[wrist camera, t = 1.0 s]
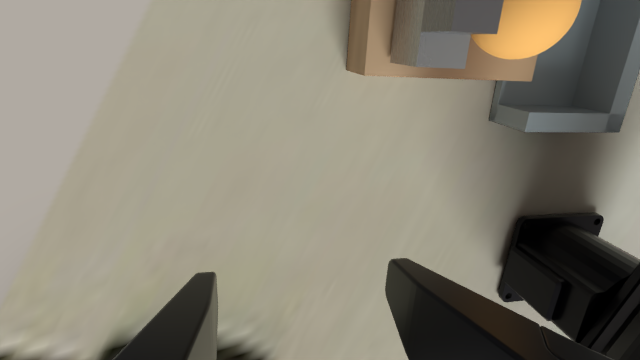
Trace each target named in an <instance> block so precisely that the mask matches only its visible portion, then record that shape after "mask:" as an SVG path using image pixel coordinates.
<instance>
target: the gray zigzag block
mask: <svg viewBox="0 0 640 360" xmlns="http://www.w3.org/2000/svg"><path fill="white" fill-rule="evenodd" d="M503 2H504V0H397V2H396V12H395V21H394V30H393V39H392V48H391V58H390V63H395V64H401V65H407V66H413V67H430V68H454V69H465V66H466V60H467V54H468V48H469V43H470V37H471V34H497V32H498V27H499V22H500V17H501V12H502V7H503Z"/></svg>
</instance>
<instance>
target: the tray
mask: <svg viewBox="0 0 640 360" xmlns="http://www.w3.org/2000/svg"><path fill="white" fill-rule="evenodd" d="M639 70H640V0H582V1H581V6H580V9H579V12H578V14H577V17H576V19H575V21H574V23H573V24H572V26H571V27H570V29H569V30H568V32H567V33H566V34H565V35H564V36H563V37H562V38H561V39H560V40H559V41H558V42H557V43H556V44H554V45H553V46H552V47H550V48H548V49H547V50H545V51H544V52H541V53H539V54H538V56H537V60H536V65H535V69H534V73H533V77H532V82H531V81H503V80H497V83H496V88H495V93H494V97H493V102H492V107H491V112H490V117H489V121H493V122H496V123H499V124H502V125H505V126H508V127H511V128H514V129H517V130H520V131H523V132H619V131H620V128H621V125H622V122H623V119H624V116H625V113H626V110H627V107H628V104H629V101H630V98H631V95H632V92H633V89H634V85H635V82H636V79H637V76H638V73H639Z"/></svg>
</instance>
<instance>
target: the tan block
mask: <svg viewBox="0 0 640 360" xmlns="http://www.w3.org/2000/svg"><path fill="white" fill-rule="evenodd" d="M396 2H397V0H351V12H350V26H349V40H348V54H347V68H346V70H347V71H351V72H354V73H358V74H361V75H364V76H391V77H419V78H447V79H475V80H503V81H531V82H532V77H533V73H534V69H535V65H536V60H537V56H538V54H537V55H535V56H532V57H528V58H523V59H502V58H498V57H495V56H492V55H490V54H488V53H486V52H485V51H484V50H482V49H481V48H480V47H479V46H478V45H477V44H476V43H475V41H474V40H473V38H472V36H471V37H470V43H469V48H468V54H467V60H466V66H465V69H454V68H430V67H413V66H407V65H401V64H395V63H390V58H391V48H392V39H393V30H394V21H395V12H396Z"/></svg>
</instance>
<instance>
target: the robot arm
mask: <svg viewBox="0 0 640 360" xmlns="http://www.w3.org/2000/svg"><path fill="white" fill-rule="evenodd" d="M603 220H604V219H603V216H601V215H599V214H597V213H577V214H557V215H537V216H523V217H521V218H519V220H518V221H517V223H516V227H515V231H514V235H513V239H512V243H511V246H510V250H509V254H508V258H507V262H506V266H505V270H504V274H503V278H502V282H501V286H500V290H499V297H500V298H501V299H502V300H503V301H504V302H513V301H523V300H525V301H526V302H527V303H528V304H529V305H530V306H531V307H532V308H533V309H535V310H536V311H537V312H538V313H539V314H540V315H541V316H542V317H543V318H544V319H546V320H547V321H552V322H553V323H554V324H555V325H556V326H557V327H558V328H559V329H560V330H562V331H563V332H564V333H565V334H566V335H567V336H568V337H569V338H570V339H572V340H573V341H572V340H570V339H568V338H566V337H564V336H562V335H560V334H558V333H556V332H554V331H552V330H550V329H548V328H546V327H544V326H539V324H538V323H536V322H534V321H532V320H530V319H528V318H526V317H524V316H522V315H520V314H517V313H515V312H513V311H511V310H509V309H507V308H505V307H503V306H501V305H499V304H497V303H495V302H493V301H491V300H489V299H487V298H485V297H483V296H481V295H479V294H477V293H475V292H473V291H471V290H469V289H467V288H465V287H463V286H461V285H459V284H457V283H455V282H453V281H451V280H449V279H447V278H445V277H443V276H441V275H439V274H437V273H435V272H433V271H431V270H429V269H427V268H425V267H423V266H421V265H419V264H417V263H415V262H413V261H411V260H409V259H407V258H399V259H391V260H390V261H389V264H388V271H387V279H386V286H385V292H386V297H387V301H388V303H389V306H390V309H391V312H392V315H393V318H394V321H395V324H396V327H397V329H398V332H399V335H400V338H401V341H402V344H403V346H404V349H405V352H406V354H407V356H408V359H409V360H640V259H638V258H636V257H634V256H632V255H630V254H629V253H627V252H625V251H623V250H621V249H620V248H618V247H616V246H614V245H612V244H610V243H609V242H607V241H605V240H603V239H601V238H600V237H598V235H599V232H600V230H601V227H602V224H603ZM525 223H526V224H525ZM524 224H525V225H524ZM217 324H218V298H217V279H216V274H215V273H214V272H203V273H197V274H195V275H194V276H193V277H192V278H191V279H190V280H189V281H188V282H187V284H186V285H185V286H184V287H183V288H182V289H181V290H180V291H179V292H178V293H177V294H176V295H175V296H174V297H173V298H172V299H171V300H170V301H169V302H168V303H167V304H166V305H165V306H164V307H163V308H162V309H161V310H160V311H159V312H158V313H157V315H156V316H155V317H154V318H153V319H152V320H151V321H150V322H149V323H148V324H147V325H146V326H145V327H144V328H143V329H142V330H141V331H140V332H139V333H138V334H137V335H136V336H135V337H134V338H133V339H132V340H131V341H130V342H129V343H128V344H127V346H126V347H125V348H124V349H123V350H122V351H121V352H120V353H119V354H118V355H117V356H116V357H115V358H114V359H113V360H216V355H217Z"/></svg>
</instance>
